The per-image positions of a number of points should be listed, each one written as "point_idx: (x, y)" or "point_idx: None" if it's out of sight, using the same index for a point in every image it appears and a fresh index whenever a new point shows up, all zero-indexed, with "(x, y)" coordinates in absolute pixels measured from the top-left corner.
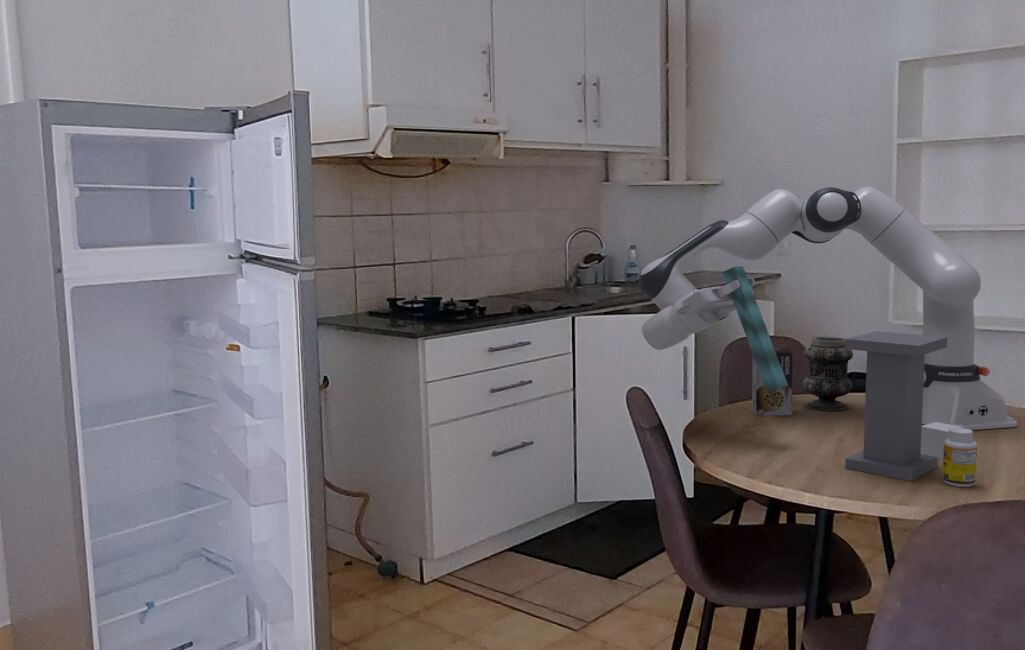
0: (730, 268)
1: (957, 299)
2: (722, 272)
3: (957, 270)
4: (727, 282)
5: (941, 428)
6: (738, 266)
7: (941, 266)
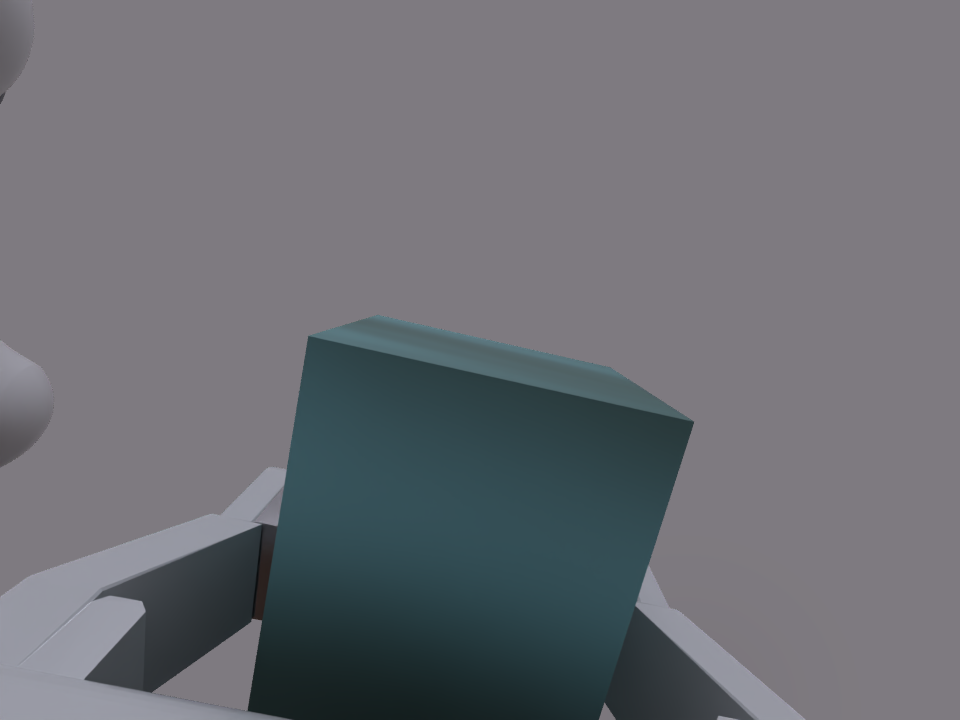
0: (622, 378)
1: (17, 456)
2: (690, 429)
3: (47, 381)
4: (614, 617)
5: None
6: (488, 341)
7: (7, 362)
